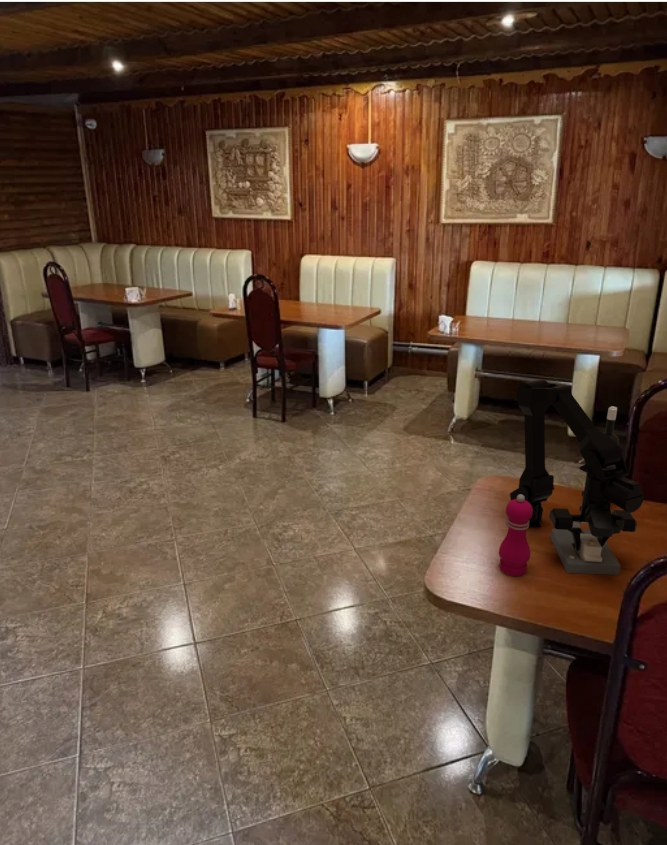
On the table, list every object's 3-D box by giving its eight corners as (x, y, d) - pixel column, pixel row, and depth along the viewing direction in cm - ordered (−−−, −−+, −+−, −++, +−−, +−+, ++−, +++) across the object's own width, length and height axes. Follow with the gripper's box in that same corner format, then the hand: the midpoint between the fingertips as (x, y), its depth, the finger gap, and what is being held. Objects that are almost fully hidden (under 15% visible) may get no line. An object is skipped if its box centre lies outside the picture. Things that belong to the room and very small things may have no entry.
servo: (582, 569, 150) (587, 547, 148) (571, 548, 159) (575, 526, 157) (600, 570, 150) (604, 548, 148) (588, 549, 159) (592, 527, 156)
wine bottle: (590, 510, 177) (606, 410, 166) (583, 500, 183) (598, 403, 172) (611, 510, 177) (628, 410, 166) (603, 500, 183) (619, 403, 172)
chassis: (567, 572, 150) (568, 563, 149) (550, 537, 165) (551, 528, 164) (618, 574, 149) (620, 565, 148) (597, 538, 164) (598, 529, 163)
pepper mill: (491, 564, 153) (498, 491, 146) (515, 557, 156) (523, 485, 149) (510, 580, 147) (518, 504, 140) (534, 573, 150) (544, 498, 142)
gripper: (565, 508, 141) (556, 567, 146) (651, 511, 140) (639, 570, 145) (552, 486, 151) (545, 542, 157) (632, 488, 150) (622, 544, 156)
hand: (587, 550), depth 153 cm, fingers open, 5 cm apart
